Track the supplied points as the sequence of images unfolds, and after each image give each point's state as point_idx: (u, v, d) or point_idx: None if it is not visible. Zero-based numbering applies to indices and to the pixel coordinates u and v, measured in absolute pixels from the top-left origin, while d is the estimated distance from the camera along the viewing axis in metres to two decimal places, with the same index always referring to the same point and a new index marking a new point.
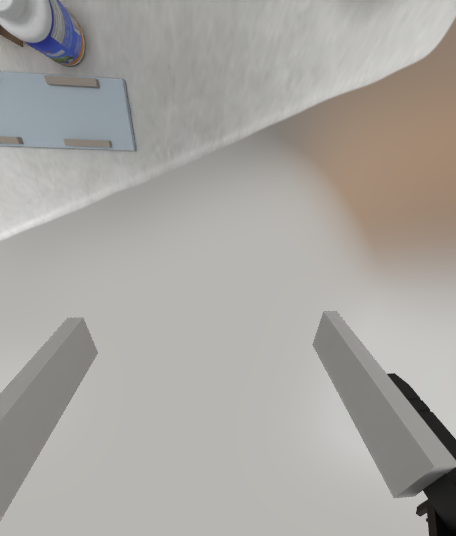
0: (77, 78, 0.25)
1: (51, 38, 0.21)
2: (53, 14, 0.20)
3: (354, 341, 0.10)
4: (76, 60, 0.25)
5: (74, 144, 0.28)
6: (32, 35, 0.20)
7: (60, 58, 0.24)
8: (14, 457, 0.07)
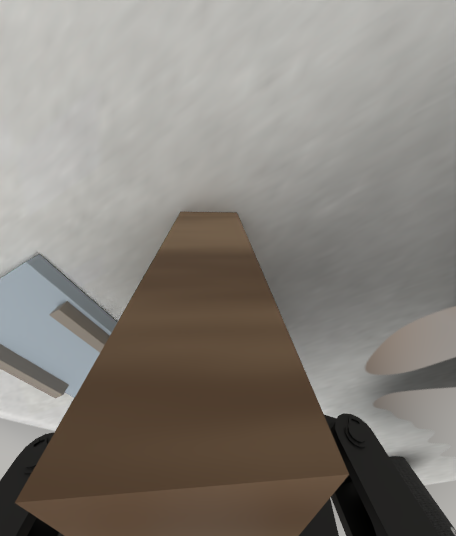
0: None
1: None
2: None
3: None
4: None
5: None
6: None
7: None
8: None
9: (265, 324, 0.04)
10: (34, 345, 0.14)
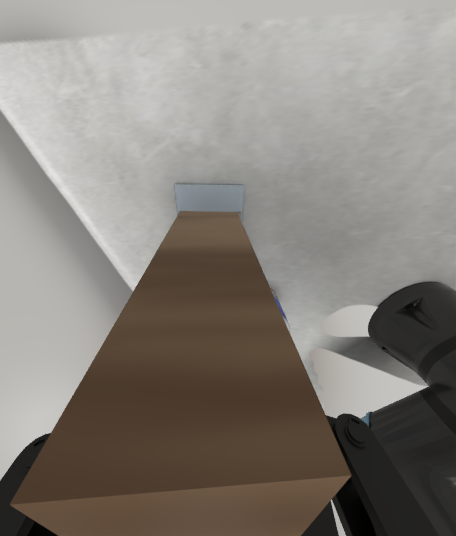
0: None
1: None
2: None
3: None
4: None
5: None
6: None
7: None
8: None
9: (265, 323, 0.04)
10: None
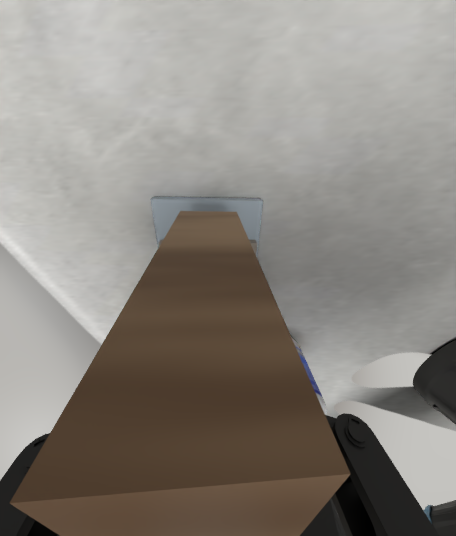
0: None
1: None
2: None
3: None
4: None
5: None
6: None
7: None
8: None
9: (265, 322, 0.04)
10: None
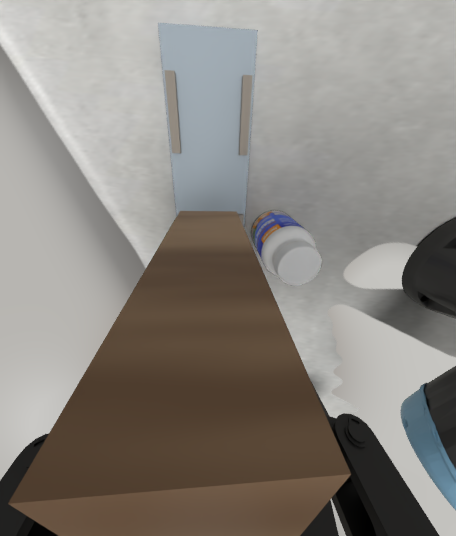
0: None
1: None
2: None
3: None
4: None
5: None
6: (264, 261, 0.20)
7: (254, 241, 0.24)
8: None
9: (265, 322, 0.04)
10: (196, 98, 0.18)
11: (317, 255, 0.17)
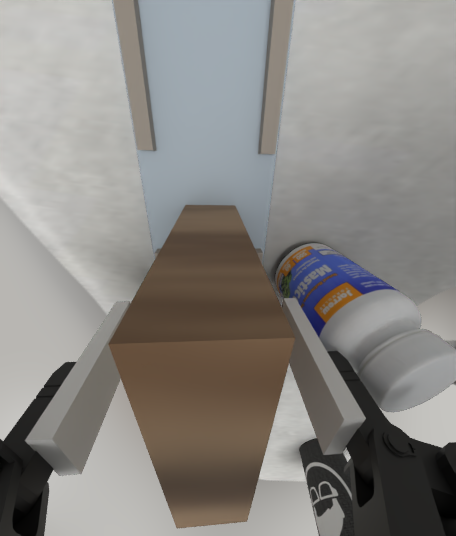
0: None
1: None
2: None
3: (304, 323, 0.10)
4: (280, 294, 0.16)
5: None
6: None
7: None
8: (92, 412, 0.08)
9: (252, 276, 0.05)
10: (179, 42, 0.09)
11: None
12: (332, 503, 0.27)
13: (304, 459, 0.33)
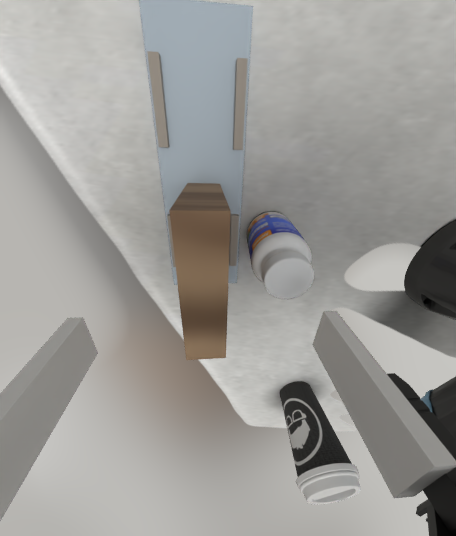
0: (236, 249, 0.23)
1: None
2: None
3: (354, 341, 0.10)
4: None
5: (170, 227, 0.21)
6: (254, 270, 0.18)
7: (248, 246, 0.22)
8: (14, 457, 0.07)
9: (221, 202, 0.13)
10: (184, 84, 0.16)
11: (308, 267, 0.15)
12: (302, 423, 0.35)
13: (283, 398, 0.40)
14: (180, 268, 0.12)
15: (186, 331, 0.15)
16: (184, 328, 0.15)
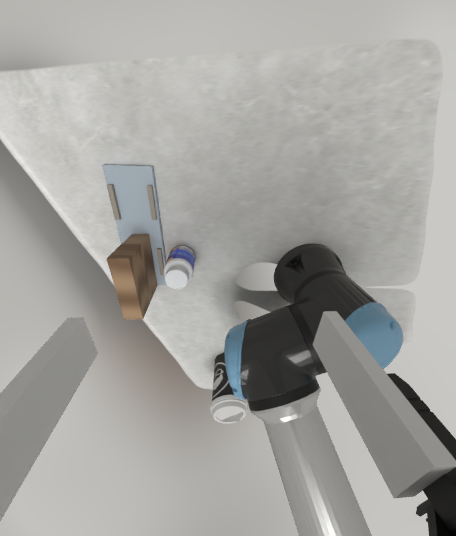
0: (162, 266, 0.43)
1: None
2: None
3: (354, 341, 0.10)
4: None
5: None
6: None
7: None
8: (14, 457, 0.07)
9: (131, 252, 0.32)
10: (125, 194, 0.36)
11: (183, 274, 0.35)
12: (219, 376, 0.54)
13: (215, 364, 0.59)
14: (114, 278, 0.32)
15: (121, 305, 0.34)
16: (120, 303, 0.34)
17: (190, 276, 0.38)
